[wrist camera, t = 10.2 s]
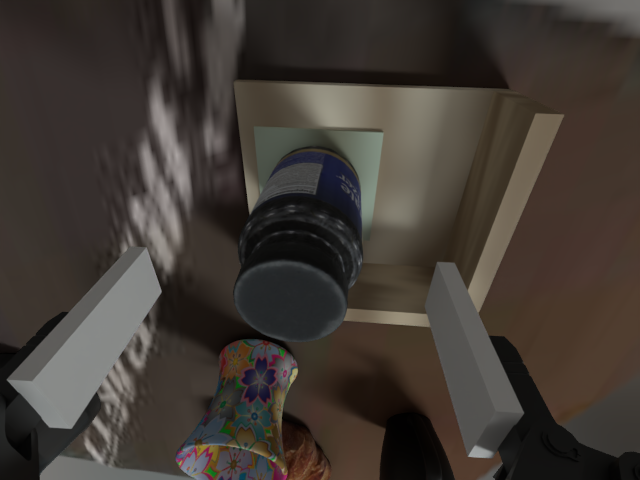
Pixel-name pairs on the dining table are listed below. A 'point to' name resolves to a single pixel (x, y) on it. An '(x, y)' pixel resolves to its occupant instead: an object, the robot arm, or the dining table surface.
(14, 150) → the dining table surface
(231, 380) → the mug
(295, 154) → the pill bottle
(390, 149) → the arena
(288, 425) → the pastry
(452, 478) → the mug
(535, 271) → the dining table surface
